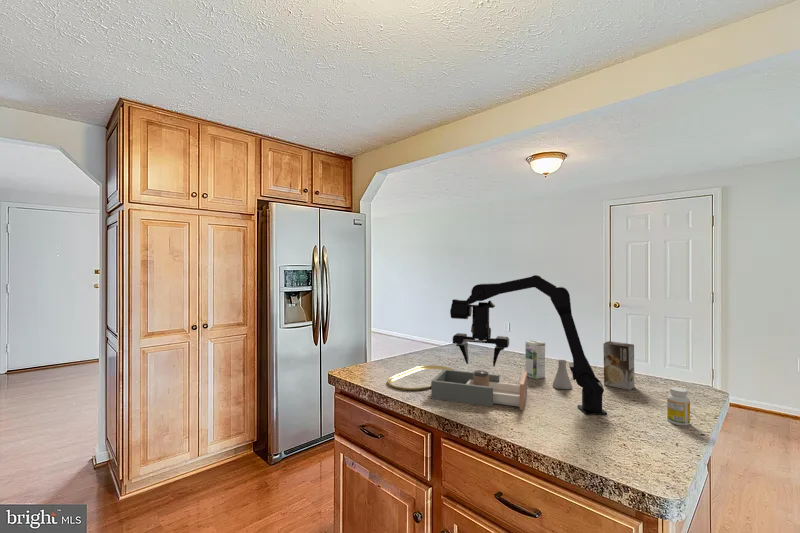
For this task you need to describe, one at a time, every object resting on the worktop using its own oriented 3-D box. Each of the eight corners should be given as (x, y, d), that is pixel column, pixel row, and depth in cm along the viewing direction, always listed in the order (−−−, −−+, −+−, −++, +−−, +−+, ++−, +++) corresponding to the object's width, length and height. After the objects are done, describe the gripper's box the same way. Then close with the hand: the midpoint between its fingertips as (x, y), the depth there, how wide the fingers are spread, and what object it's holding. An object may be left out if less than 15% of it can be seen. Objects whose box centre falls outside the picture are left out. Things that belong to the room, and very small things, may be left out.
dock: (499, 391, 138) (499, 374, 138) (492, 406, 123) (492, 388, 123) (444, 384, 146) (444, 369, 146) (431, 398, 131) (431, 381, 131)
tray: (527, 393, 134) (527, 371, 134) (523, 410, 119) (523, 384, 119) (470, 387, 142) (470, 365, 142) (460, 401, 127) (460, 377, 127)
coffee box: (635, 386, 143) (635, 344, 143) (629, 390, 139) (629, 346, 139) (609, 381, 150) (609, 340, 150) (602, 384, 146) (602, 342, 146)
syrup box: (524, 375, 158) (524, 340, 158) (535, 374, 160) (535, 339, 160) (534, 379, 153) (534, 343, 153) (545, 377, 155) (545, 342, 155)
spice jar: (490, 395, 130) (490, 374, 130) (474, 395, 130) (474, 374, 130) (487, 390, 135) (487, 370, 135) (472, 390, 135) (472, 370, 135)
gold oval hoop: (377, 386, 145) (377, 382, 145) (425, 366, 174) (425, 363, 174) (419, 396, 135) (419, 391, 135) (463, 373, 163) (463, 369, 163)
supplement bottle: (677, 426, 108) (677, 392, 108) (662, 419, 113) (662, 386, 113) (695, 425, 108) (694, 392, 108) (679, 418, 114) (679, 386, 114)
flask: (568, 384, 147) (568, 358, 147) (575, 390, 139) (575, 363, 139) (549, 383, 147) (549, 357, 147) (555, 389, 140) (555, 362, 140)
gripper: (511, 318, 136) (510, 362, 136) (459, 315, 143) (459, 357, 143) (507, 322, 126) (507, 370, 126) (452, 319, 133) (452, 364, 133)
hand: (480, 364), depth 132 cm, fingers open, 9 cm apart
